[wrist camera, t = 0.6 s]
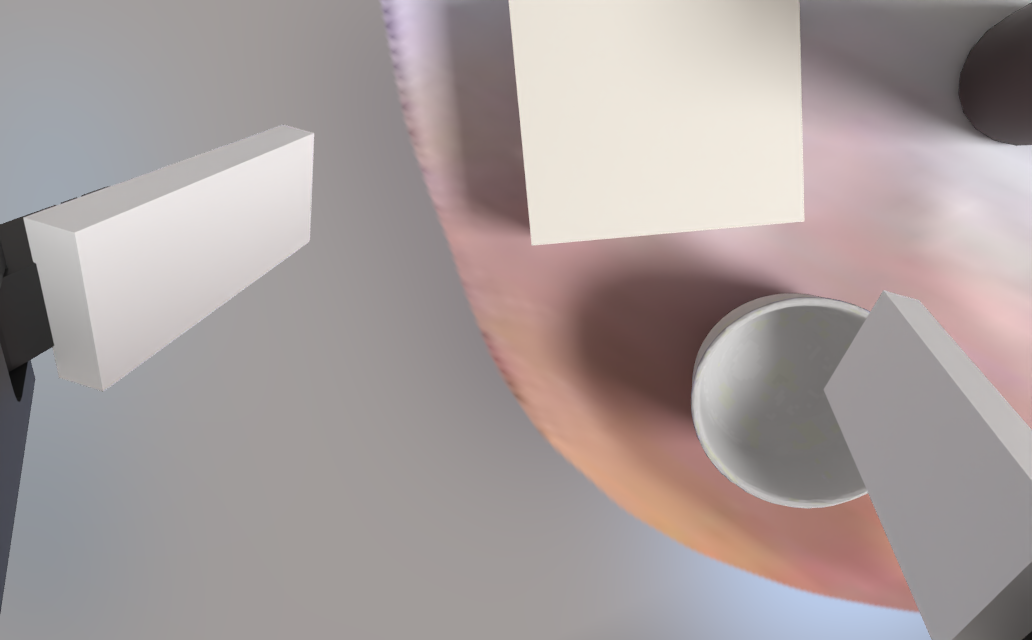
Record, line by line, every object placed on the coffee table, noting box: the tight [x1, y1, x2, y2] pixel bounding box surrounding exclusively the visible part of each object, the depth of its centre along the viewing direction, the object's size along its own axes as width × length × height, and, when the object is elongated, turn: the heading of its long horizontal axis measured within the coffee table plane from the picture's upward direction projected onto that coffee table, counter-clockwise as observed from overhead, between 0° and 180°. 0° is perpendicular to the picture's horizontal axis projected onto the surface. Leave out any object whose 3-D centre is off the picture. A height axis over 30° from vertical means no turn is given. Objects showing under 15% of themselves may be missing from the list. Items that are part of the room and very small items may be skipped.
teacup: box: [691, 293, 870, 508], centre depth 33 cm, size 14×11×8 cm
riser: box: [508, 0, 804, 245], centre depth 33 cm, size 14×14×6 cm
